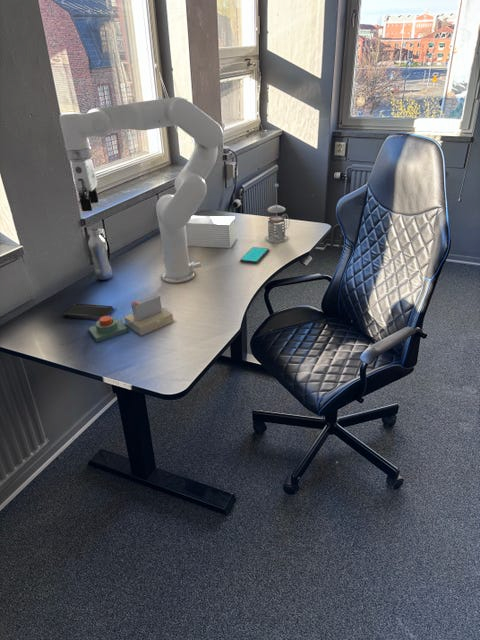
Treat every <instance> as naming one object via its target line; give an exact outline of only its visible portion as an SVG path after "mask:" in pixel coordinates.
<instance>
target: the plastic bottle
mask: <svg viewBox="0 0 480 640" xmlns="http://www.w3.org/2000/svg"><path fill="white" fill-rule="evenodd" d="M88 232H89V236H90V237H89V239H88V241H87V245H88V248H89V251H90V253H91V256H92V260H93V267H94V275H95V278H96V279H97V280H101V281H105V280H109V279H111V278H112V276H113V270H112V267H111V264H110V261H109V258H108V251H107V241H106V239H105V238H104V237H103V236H102V235H101V230H100V228H99V227H94V228H90V229H89V230H88Z"/></svg>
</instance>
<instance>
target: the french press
mask: <svg viewBox="0 0 480 640" xmlns="http://www.w3.org/2000/svg"><path fill="white" fill-rule="evenodd" d="M273 187H275V192H276V193H275V205H272V206H270V207H268V208H267V212H268V213H272V214H275V215H271V216H269V217H268V221H267V236H266V238H265V240H266V241H267V242H269V243H277V244H278V243H284V242H286V241H288V237H287V236H286V230H287V228H289V227H290V225H288V223H290V218H289V216H288V215H287V213H284V212H285V211H286V209H287V208H285V207H284V206H282V205H279V204H278V196H277V195H278V191H277V188H278V187H280V186H279V183H275V184H274V185H273ZM280 213H283V214H282V215H278V214H280ZM286 217H287V218H286ZM287 219H288V220H287Z"/></svg>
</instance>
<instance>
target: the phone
mask: <svg viewBox="0 0 480 640" xmlns="http://www.w3.org/2000/svg"><path fill="white" fill-rule="evenodd" d="M113 311H114V307H113V306H112V305H104V304H103V305H100V304H89V303H88V304H86V303H74V304H72V305H71V306H70V307H69V308H68V309H67V310H65V312H64V313H63V315H64V317H65V318H70V319H84V320H96V321H98V320H100V318H101V317H103V316H110V314H112V312H113Z"/></svg>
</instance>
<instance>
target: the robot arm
mask: <svg viewBox="0 0 480 640" xmlns="http://www.w3.org/2000/svg"><path fill="white" fill-rule="evenodd" d="M59 123H60V128H61V132H62V137H63V141H64V146H65V150H66V155H67V159H68V162H71V168H72V174H73V180H74V184H75V188H76V191H77V193H78V194H77V195H78V199H79V202H80V203H79V204H80V208H81V211H82V212H92V210H93V207H92V204H97V203H99V197H98V191H97V187H98V185H99V184H98V179H97V175H96V171H95V167H94V163H93V160H92V159H93V153H92V147H91V143H90V139H89V137H98V138H100V137H102V138H103V137H106V136H107V135H108V134H109V133H110V132H112V131H120V130H135V131H150V130H155V129H156V130H157V129H161V128H162V129H163V128H167V127H169V128H170V127H176V126H177V127H178V128H179V129H181V130H182V131H183V132H184V133H186V134H187V135H188V136H190V137H191V138H193V141H194V148H193V151H192V154H191V156H190V157H189V159H188V160H187V162H186V163H185V165H184V166H183V167H182V168H181V171H180V172H179V173H178V175H177V176H176V177H175V180H174V189H175V193H174V194H169V193H168V194H164V195H162V196H161V197H160V198H159V199H158V200H157V202H156V204H155V214H156V216H157V217H156V218H157V222H158V228H159V235H160V241H161V247H162V248H161V249H162V255H163V256H162V257H163V264H164V271H163V272H162V274H161V278H162V280H163V281H164V282H166V283H170V284H180V283H184V282H187V281H191V280H192V279H193V278H194V277H195V271H194V270H195V269H199V268H201V267H202V264H201V262H195V261H192V262H190V257H189V246H187V236H186V228H185V225H186V224H187V223H188V221H189V220H190V219H191V217H192V216H195V215H194V214H195V213H196V212H197V210H198V209H199V207H200V206H201V205H202V203H203V202H204V200H205V198H206V196H207V193H208V186H207V182H206V179H207V178H208V176H209V175H210V174H211V172H212V169H213V168H214V166H215V165H216V162H217V158H218V153H219V146H220V145H221V144H222V142H223V140H224V131H223V128H222V126H221V125H220V123H218V122H217V121H215V120H214V118H212V117H211V116H209V115H208V114H207V113H206V112H204V111H203V110H201V109H200V108H199V107H198V106H196V104H194V103H192V102H191V101H190V100H188V99H187V98H184V97H180V96H172V97H166V98H159V99H152V100H143V101H136V102H130V103H123V104H116V105H109V106H101V107H95V108H91V109H89V110H88V111H87V112H85V113H82V112H78V111H77V112H76V111H73V112H72V111H71V112H66V113H61V114H60V115H59Z"/></svg>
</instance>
